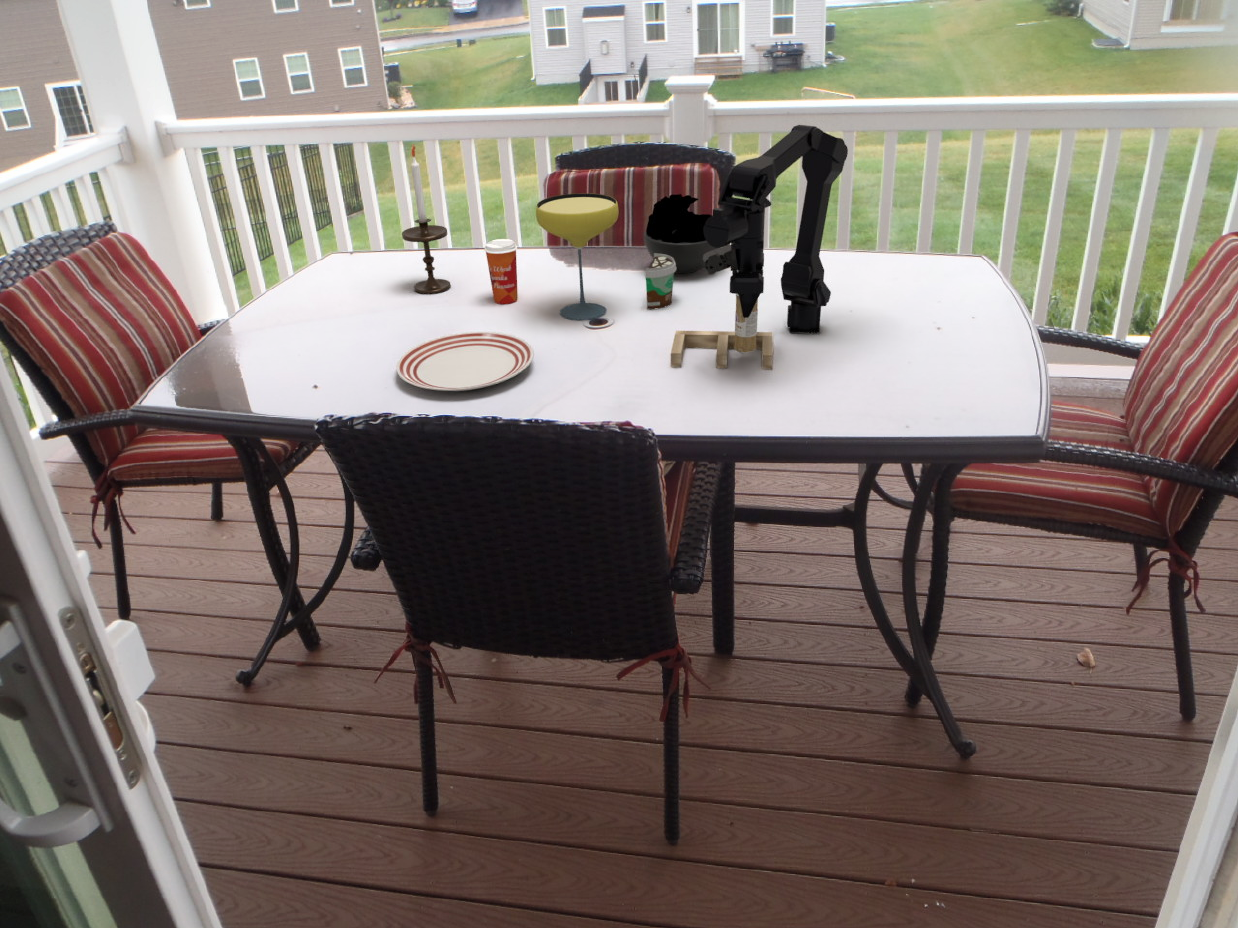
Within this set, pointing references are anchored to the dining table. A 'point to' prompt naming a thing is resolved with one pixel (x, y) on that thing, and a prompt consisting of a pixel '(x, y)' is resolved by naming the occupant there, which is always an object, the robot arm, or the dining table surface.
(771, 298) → the dining table surface
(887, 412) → the dining table surface
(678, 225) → the coal bowl
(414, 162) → the candlestick
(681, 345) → the comb rack
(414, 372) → the dinner plate
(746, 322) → the sprinkles bottle
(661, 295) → the food container
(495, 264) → the paper cup
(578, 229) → the cocktail glass
